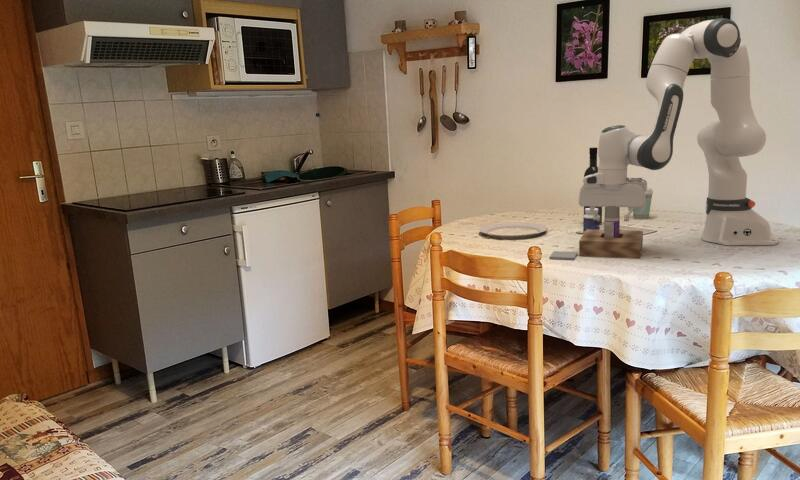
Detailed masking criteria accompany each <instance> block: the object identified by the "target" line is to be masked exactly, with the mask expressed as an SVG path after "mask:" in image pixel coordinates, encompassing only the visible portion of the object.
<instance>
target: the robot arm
mask: <svg viewBox="0 0 800 480" xmlns="http://www.w3.org/2000/svg"><path fill="white" fill-rule="evenodd" d="M741 40H742V39H741V31H740V29H739V27H738V24H737V23H736V22H735V21H734V20H733V19H729V18H723V17H722V18H716V19H707V20H703V21H700V22H698V23H696V24H691V25H688V26H686V27H685V28H683V29H681V30H680V31H679V32H678V33H671V34H669V35H667V36H666V37H664V39H663V40H662V42H661V44H660V45H659V46H658V49H657V51H656V53H655V55H654V58H653V59H652V62H651V64H650V67H649V70H648V73H647V76H646V80H645V81H646V82H645V86H646V90H647V91H648V93H649V94H650V95H651V96H652V97H653V98H655V100H656V101H657V103H658V110H657V113H656V117H655V120H654V124H653V127H652V131H651V132H650V134H649V135H643V134H642V135H641V134H639V133H637V132H634V131H632V130H631V129H629V128H628V127H627V126H626V125H622V124H619V125H612V126H608V127H605V128H603V130H601V131H600V135H599V140H598V149H597V157H598V161H599V163H598V165H597V167H598V172H597V173H593V174H591V175H587V176H585V177H584V176H583V179H582V183H583V185H582V186H581V187H580V191H579V195H578V205H579V206H580V207H584V206H590V211H591V213H592V214H593V220H598V216H599V214H596V213H595V211H594V209H595V207H602V208H605V207H608V206H616V207H620V208H627V209H628V211H629V212H627V214H624V216H623V218H624V219H623V222H630V216H631V215H632V214H633V207H636V208H642V207H643V206H645V191H646V190H647V187H648V182H647V180H646V179H643V178H642V177H628V166H629V165H631V166H636V167H641V168H645V169H648V170H651V171H658V170H661V169H663V168H665V167H666V166H667V165H668V164H670V161H671V159H672V156H673V155H674V154H673V153H674V136H675V133H676V129H677V126H678V122H679V117H680V114H681V109H682V107H683V102H684V91H683V90H684V87H685V86H684V85H685V82H686V78H687V76H688V73H689V71H690V67H691V64H692V63H693V61H694V60H696V59H699V60H701V59H707V60H708V61H709V65H710V104H711V107H712V108H713V109H714V110H715V111H716V113H717V117H718V119H719V120H717V121H712V122H710V123H707V124H705V125H703V126H702V127H701V128H700V129H699V131H698V133H697V137H696V140H697V144H698V146H699V148H700V149H701V150H702V152H703V155H704V159H705V161H706V167H707V171H708V172H707V173H708V191H707V192H708V195H707V197H706V201H705V214H706V216H705V222H704V223H705V224H704V227H703V230H702V234H701V237H700V239H701V240H702V241H705V242H709V243H713V244H714V243H715V244H719V245H722V246H775V245H778V244H779V238H778V236H776V235H774V234H772V229H771V225H770V223H769V222H768V220H767V219H766V218H765V217H763V216H762V215H760V214H759V213H758V212H756V211H755V210H753V208H755V207H756V202H755V201H754V200H751V199H750V198H748V197H747V184H748V174H747V172H746V170H745V169H744V168H743V166H742V164H741V160H740V158H743V157H749V156H753V155H756V154H758V153H759V152H760V151H762V150H763V148H764V147H765V145H766V141H767V134H766V131H765V130H764V128H763V127H762V126H761V125H760V124H759V123H758V121H757V118H756V116H755V113H754V109H753V107H752V100H751V87H750V86H751V79H750V77H751V73H750V72H751V70H750V69H751V68H750V58H749V53H748V49H747V46H746V44H744V43H743V42H742V41H741Z"/></svg>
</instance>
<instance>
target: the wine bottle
mask: <svg viewBox="0 0 800 480" xmlns="http://www.w3.org/2000/svg"><path fill="white" fill-rule="evenodd" d="M598 149H599V147H589V149H588V150H589V153H588V154H589V166H588V167H587V168H586V169H585V171H584V174H583V178H584V177H585V176H587V175H591V174H593V173H597V172H598ZM585 208H590V206H583V216H584V215H585V214H586V213H585ZM595 208H598V214H599V216H600V225H602V223H603V222H602V221H603V207H595Z"/></svg>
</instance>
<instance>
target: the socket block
mask: <svg viewBox="0 0 800 480" xmlns="http://www.w3.org/2000/svg"><path fill="white" fill-rule="evenodd" d="M643 236H644V230H633V229H632V230H627V229H626V230H624V229H620V232H619V238H604V229H600V230H595V229H587V230H586V231H585V233H584V234H583V233H582V236H581V238H580V239H579V240H578V248H579V249H578V256H579V257H594V258H596V257H597V258H598V257H599V258H603V257H604V258H621V259H622V258H623V259H641V254H642V249H643V246H644V245H643V244H644V240H643V239H644V237H643Z"/></svg>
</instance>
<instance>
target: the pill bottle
mask: <svg viewBox="0 0 800 480" xmlns="http://www.w3.org/2000/svg"><path fill="white" fill-rule="evenodd" d="M594 211H595V213H596V214H598V208H595V209H594ZM585 213H586V214H585V215H584V214H583V217H582V219H583V221H582V222H583V223H582V225H583V228H582V235H583V234H584V233H585V231H586V230H587V229H595V230H601V229H600V228H601V224H600V216H598V220H593V214H592V213H591V211H590V208H585Z"/></svg>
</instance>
